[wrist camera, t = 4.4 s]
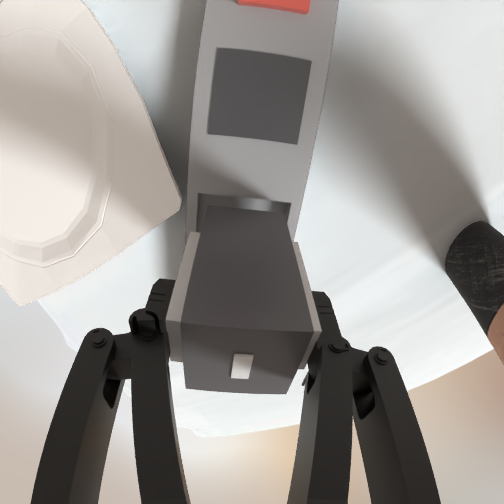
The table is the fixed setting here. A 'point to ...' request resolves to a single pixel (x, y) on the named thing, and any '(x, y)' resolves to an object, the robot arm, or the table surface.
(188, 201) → the power strip
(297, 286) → the block
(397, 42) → the table surface
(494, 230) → the travel mug
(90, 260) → the plate
